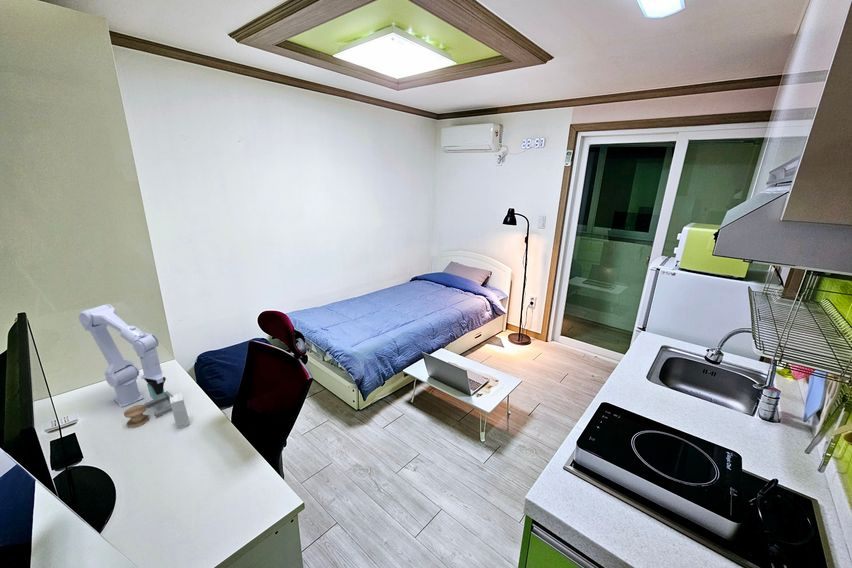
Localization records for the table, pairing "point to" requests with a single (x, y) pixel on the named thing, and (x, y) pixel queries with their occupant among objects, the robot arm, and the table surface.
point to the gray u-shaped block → (159, 400)
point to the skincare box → (179, 410)
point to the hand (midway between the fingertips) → (157, 391)
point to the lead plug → (152, 392)
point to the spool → (136, 416)
